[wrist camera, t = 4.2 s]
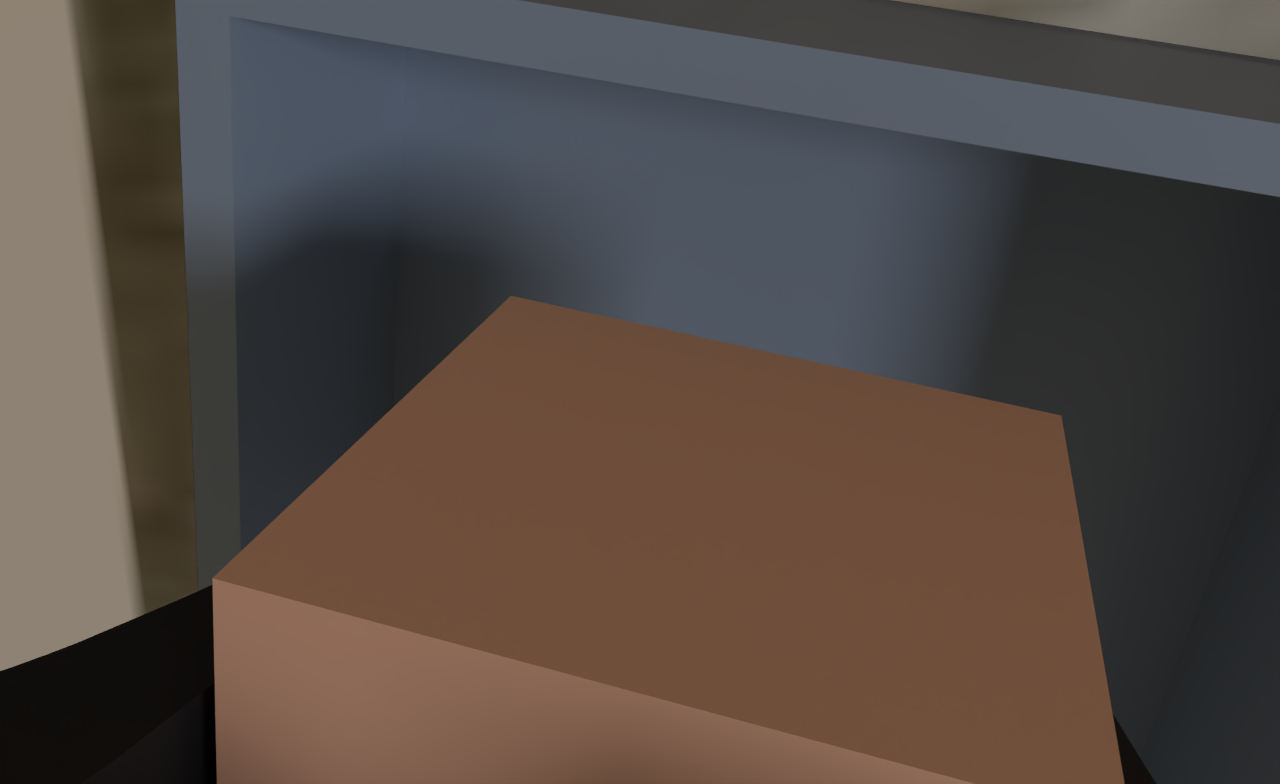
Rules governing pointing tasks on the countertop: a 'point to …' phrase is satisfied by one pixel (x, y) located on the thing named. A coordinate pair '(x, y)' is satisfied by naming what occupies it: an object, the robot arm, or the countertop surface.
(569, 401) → the terracotta cube
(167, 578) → the countertop surface
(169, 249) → the countertop surface
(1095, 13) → the countertop surface
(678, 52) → the slate tote
